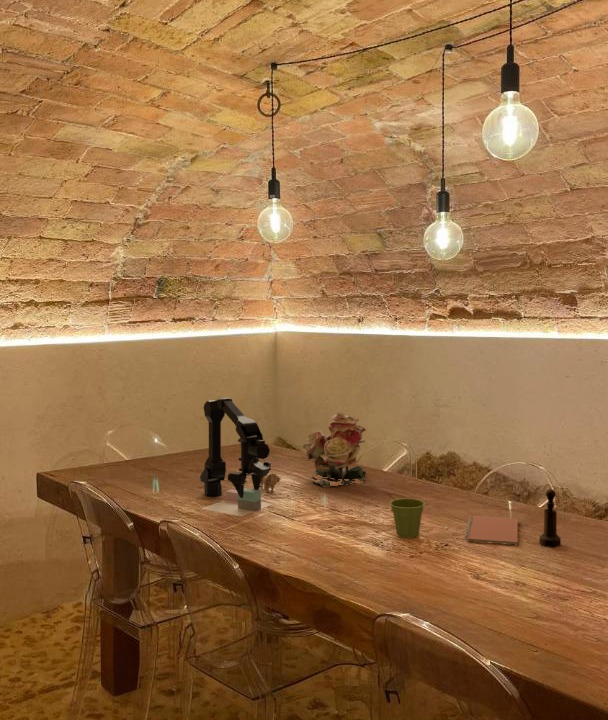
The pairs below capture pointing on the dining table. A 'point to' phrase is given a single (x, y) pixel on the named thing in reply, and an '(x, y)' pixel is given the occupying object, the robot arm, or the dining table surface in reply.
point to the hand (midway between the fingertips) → (249, 495)
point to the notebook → (492, 529)
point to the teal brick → (251, 495)
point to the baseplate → (237, 507)
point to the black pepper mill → (550, 523)
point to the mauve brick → (231, 495)
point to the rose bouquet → (336, 450)
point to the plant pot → (407, 516)
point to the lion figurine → (269, 482)
